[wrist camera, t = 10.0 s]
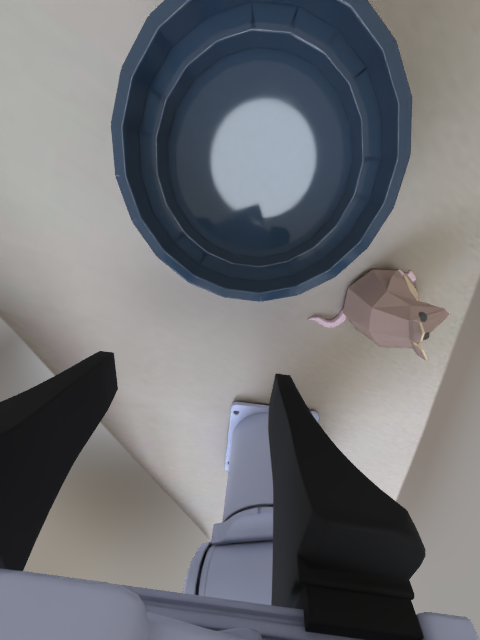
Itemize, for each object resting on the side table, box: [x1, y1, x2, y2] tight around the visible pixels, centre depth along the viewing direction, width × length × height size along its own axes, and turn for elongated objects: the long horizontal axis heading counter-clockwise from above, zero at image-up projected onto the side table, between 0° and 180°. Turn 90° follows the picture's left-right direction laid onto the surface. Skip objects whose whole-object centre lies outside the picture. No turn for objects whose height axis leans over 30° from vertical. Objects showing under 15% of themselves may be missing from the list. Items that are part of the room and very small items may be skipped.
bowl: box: [111, 0, 412, 301], centre depth 16 cm, size 14×14×4 cm
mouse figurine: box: [307, 269, 450, 360], centre depth 19 cm, size 5×8×7 cm, turn 111°
